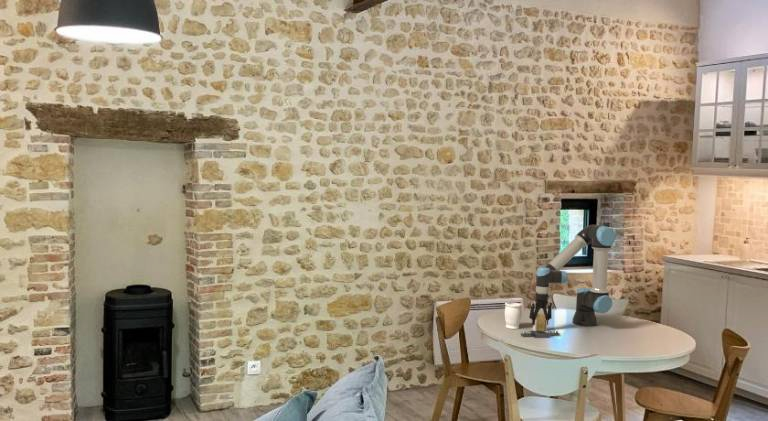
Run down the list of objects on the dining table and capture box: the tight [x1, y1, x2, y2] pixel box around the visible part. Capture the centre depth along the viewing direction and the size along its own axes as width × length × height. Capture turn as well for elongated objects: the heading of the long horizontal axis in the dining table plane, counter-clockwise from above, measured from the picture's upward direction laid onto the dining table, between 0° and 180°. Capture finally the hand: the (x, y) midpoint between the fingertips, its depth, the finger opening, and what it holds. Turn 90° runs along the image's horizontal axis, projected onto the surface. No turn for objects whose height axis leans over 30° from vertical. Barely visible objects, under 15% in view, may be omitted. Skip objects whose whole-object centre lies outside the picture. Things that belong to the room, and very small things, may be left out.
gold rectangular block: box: [536, 313, 545, 332], centre depth 409 cm, size 4×4×10 cm
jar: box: [504, 301, 523, 330], centre depth 414 cm, size 11×10×15 cm
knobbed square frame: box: [520, 330, 560, 339], centre depth 396 cm, size 24×9×2 cm, turn 106°
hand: (539, 330), depth 410 cm, fingers open, 6 cm apart
